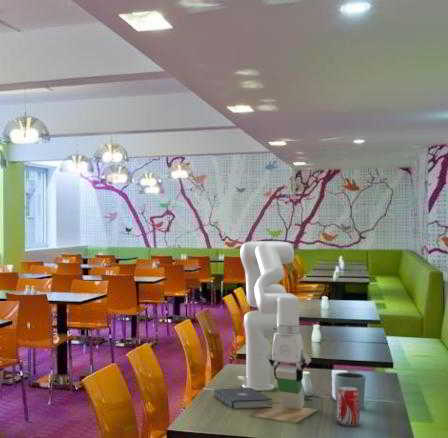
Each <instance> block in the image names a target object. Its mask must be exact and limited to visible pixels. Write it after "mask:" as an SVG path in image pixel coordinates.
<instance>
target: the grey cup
mask: <svg viewBox="0 0 448 438" xmlns="http://www.w3.org/2000/svg"><path fill="white" fill-rule="evenodd" d="M366 378H367V376H366V375H365V374H363V373H359V372H352V371H351V372H350V371H348V372H343V373H337V374H336V380H337V392H338V390H339V387H343V386H347V387H354V388H357V391H358V393H359V411H363V410H364V407H365V392H366Z"/></svg>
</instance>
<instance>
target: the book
mask: <svg viewBox="0 0 448 438" xmlns="http://www.w3.org/2000/svg"><path fill="white" fill-rule="evenodd" d="M213 394H214V397H215V398H216V399H218V400H219V401H220V402H222V403H224V404H225V405H226V406H227V407H229V408H231V409H233V410H236V409H237V410H239V409H241V410H242V409H243V410H244V409H265V408H272V407H271V405H270V404H269V401H272V400H273V399H272V398H270V397H269V396H267V395H265V394H263V393H261V391H256V390H254V389H252V388H243V387H234V388H233V387H231V388H230V387H229V388H214V392H213Z"/></svg>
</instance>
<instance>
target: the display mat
mask: <svg viewBox="0 0 448 438" xmlns="http://www.w3.org/2000/svg"><path fill="white" fill-rule="evenodd" d="M270 406H271V407H272V408H262V409H261V410H259V411H257V412H255V413H252V414H251V416H253V417H259V418H266V419H272V420H278V421H285V422H291V423H298V422H300V421H301V420H303V419H305V418H307V417H308V416H310V415H312V414H313V413H315V412H317V411H318V409H316V408H308V407H303V408H302V410H298V409H292V408H285V407H282V403H281V404H280V403H273V404H271V405H270Z"/></svg>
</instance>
